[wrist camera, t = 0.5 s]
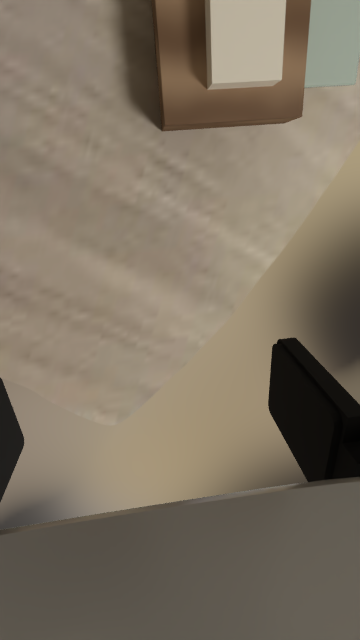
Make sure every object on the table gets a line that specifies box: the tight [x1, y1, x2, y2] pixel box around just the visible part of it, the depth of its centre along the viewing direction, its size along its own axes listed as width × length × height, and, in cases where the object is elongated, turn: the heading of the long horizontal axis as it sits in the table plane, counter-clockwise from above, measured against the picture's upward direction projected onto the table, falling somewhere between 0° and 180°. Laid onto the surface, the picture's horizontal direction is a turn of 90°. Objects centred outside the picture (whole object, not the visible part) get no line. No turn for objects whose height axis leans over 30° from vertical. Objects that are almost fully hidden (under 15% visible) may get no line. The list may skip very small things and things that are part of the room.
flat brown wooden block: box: [152, 0, 311, 131], centre depth 28 cm, size 14×13×4 cm
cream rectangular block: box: [205, 0, 286, 90], centre depth 25 cm, size 9×6×2 cm, turn 4°
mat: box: [304, 0, 360, 88], centre depth 30 cm, size 11×7×1 cm, turn 4°
